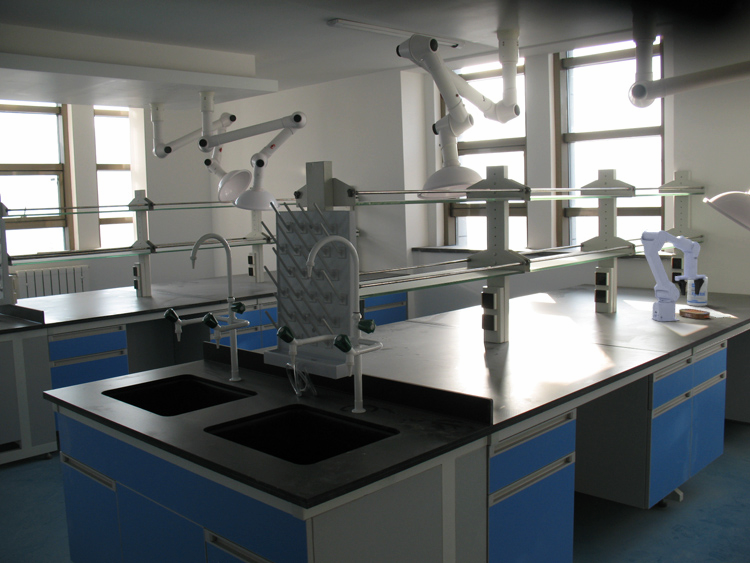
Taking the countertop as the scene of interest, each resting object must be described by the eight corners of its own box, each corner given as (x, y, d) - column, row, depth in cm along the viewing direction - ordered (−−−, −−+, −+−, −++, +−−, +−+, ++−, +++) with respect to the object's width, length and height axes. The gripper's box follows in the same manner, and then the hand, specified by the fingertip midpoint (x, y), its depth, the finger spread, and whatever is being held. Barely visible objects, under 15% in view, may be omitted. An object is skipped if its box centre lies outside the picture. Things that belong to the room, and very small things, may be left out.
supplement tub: (691, 306, 348) (692, 278, 346) (683, 303, 357) (684, 276, 355) (710, 306, 347) (711, 277, 345) (702, 303, 357) (703, 275, 355)
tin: (714, 312, 315) (700, 313, 312) (713, 319, 316) (700, 319, 312) (688, 308, 329) (675, 308, 326) (687, 314, 329) (674, 315, 326)
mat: (716, 317, 316) (716, 317, 316) (697, 312, 331) (697, 312, 331) (730, 317, 317) (730, 316, 317) (711, 311, 331) (711, 311, 331)
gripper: (681, 268, 314) (680, 296, 316) (710, 266, 316) (709, 295, 318) (672, 266, 321) (672, 294, 323) (701, 265, 323) (700, 293, 325)
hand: (690, 294), depth 321 cm, fingers open, 6 cm apart
